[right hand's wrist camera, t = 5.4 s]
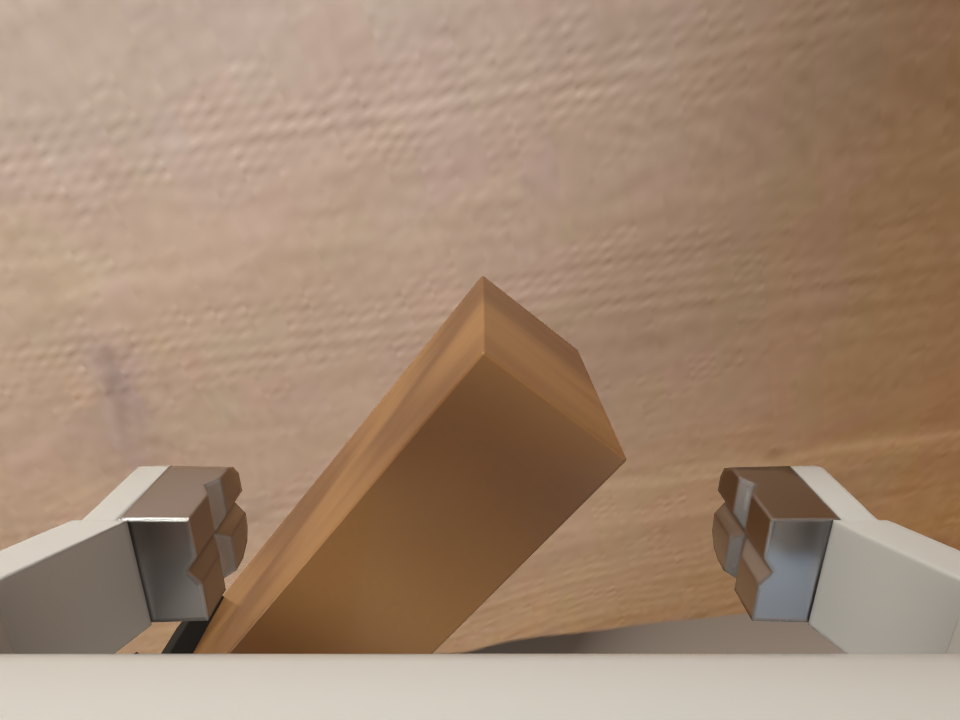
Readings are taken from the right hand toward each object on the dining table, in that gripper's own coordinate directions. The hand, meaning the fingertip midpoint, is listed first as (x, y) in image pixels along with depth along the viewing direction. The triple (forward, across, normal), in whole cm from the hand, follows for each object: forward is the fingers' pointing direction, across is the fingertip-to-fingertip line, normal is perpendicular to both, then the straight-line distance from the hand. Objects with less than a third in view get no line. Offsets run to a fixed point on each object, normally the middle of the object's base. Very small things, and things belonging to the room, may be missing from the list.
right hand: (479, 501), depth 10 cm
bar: (+12, -5, -9) cm, 16 cm away
